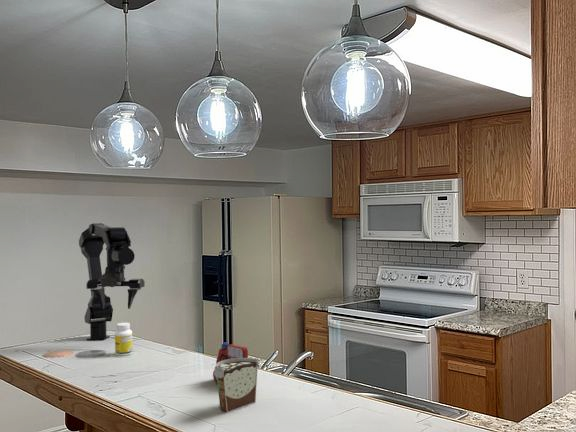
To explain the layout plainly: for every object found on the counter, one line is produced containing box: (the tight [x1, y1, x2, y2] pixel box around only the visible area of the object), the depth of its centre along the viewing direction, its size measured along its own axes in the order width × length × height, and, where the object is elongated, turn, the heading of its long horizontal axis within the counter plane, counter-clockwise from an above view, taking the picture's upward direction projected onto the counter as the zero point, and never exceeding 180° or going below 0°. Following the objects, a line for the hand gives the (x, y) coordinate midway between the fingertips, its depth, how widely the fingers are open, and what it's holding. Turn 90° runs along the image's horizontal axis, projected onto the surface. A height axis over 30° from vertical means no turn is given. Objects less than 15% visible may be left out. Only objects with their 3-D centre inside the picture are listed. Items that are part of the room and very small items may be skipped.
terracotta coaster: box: [43, 349, 74, 359], centre depth 194 cm, size 9×9×1 cm
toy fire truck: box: [212, 342, 249, 385], centre depth 156 cm, size 7×12×10 cm, turn 41°
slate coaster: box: [76, 349, 107, 359], centre depth 193 cm, size 9×9×1 cm
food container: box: [213, 357, 260, 414], centre depth 137 cm, size 12×6×10 cm, turn 141°
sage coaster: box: [109, 351, 136, 359], centre depth 193 cm, size 9×9×1 cm
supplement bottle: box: [114, 322, 134, 356], centre depth 192 cm, size 5×5×10 cm
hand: (116, 308), depth 205 cm, fingers open, 9 cm apart
